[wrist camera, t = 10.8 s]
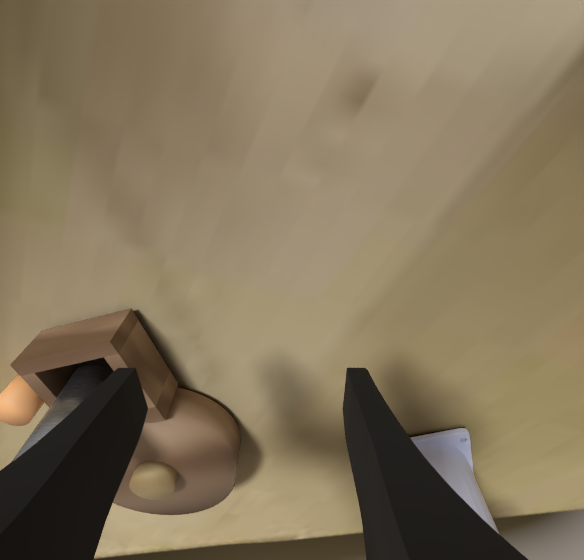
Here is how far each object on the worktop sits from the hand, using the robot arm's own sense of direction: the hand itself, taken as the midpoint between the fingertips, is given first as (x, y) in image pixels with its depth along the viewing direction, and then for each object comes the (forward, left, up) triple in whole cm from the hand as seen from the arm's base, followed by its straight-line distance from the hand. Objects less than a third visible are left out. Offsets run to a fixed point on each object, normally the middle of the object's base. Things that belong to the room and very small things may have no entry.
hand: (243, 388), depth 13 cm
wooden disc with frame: (-9, +12, -9) cm, 17 cm away
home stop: (-4, +18, -9) cm, 21 cm away
